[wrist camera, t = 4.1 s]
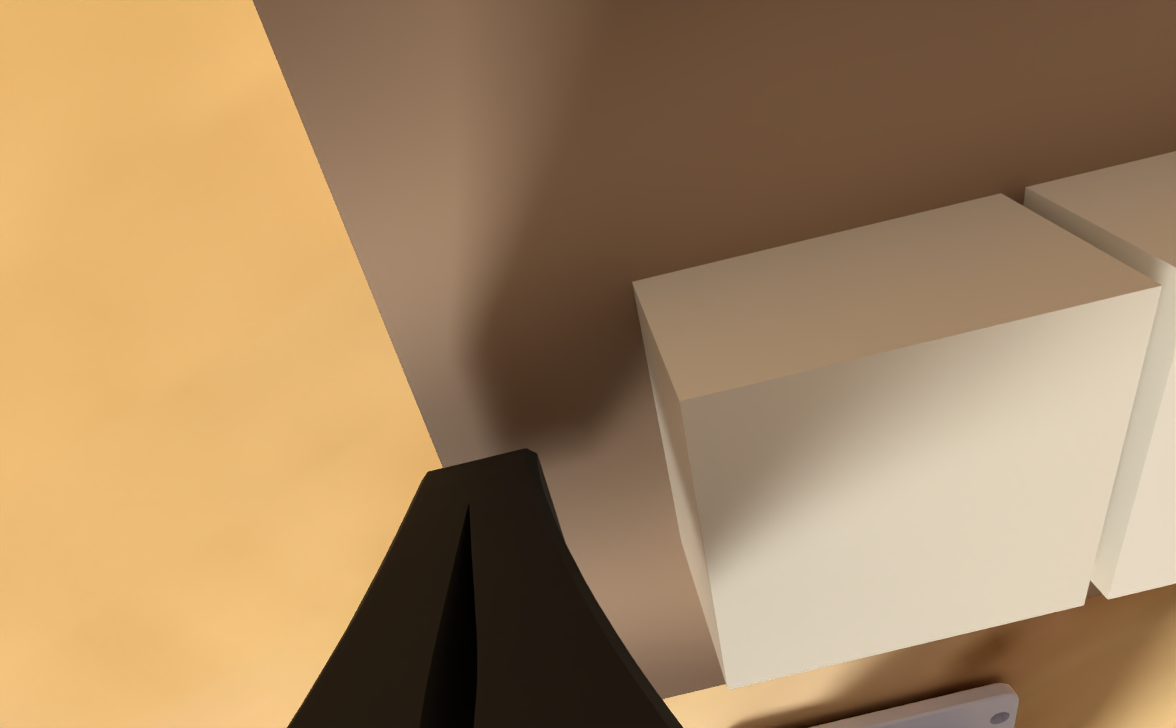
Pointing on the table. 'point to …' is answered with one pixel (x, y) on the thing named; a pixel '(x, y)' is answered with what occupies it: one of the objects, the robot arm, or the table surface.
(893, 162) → the walnut plate
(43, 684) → the table surface
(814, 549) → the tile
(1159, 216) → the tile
